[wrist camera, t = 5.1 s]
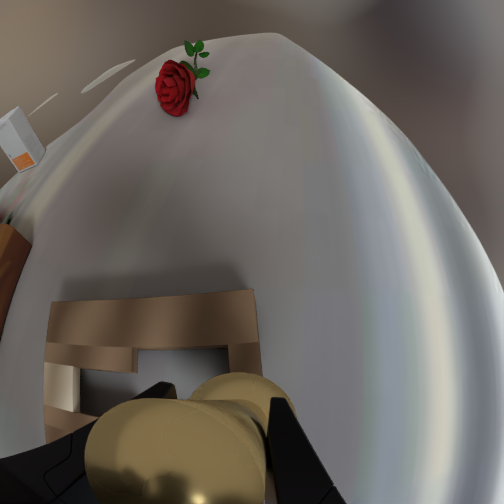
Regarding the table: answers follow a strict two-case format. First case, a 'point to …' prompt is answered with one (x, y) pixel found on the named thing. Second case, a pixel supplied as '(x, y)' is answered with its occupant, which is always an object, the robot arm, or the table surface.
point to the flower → (179, 81)
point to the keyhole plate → (138, 342)
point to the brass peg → (185, 446)
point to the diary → (10, 266)
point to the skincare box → (20, 140)
